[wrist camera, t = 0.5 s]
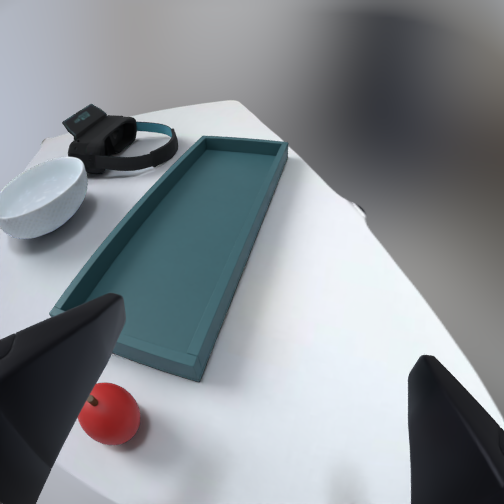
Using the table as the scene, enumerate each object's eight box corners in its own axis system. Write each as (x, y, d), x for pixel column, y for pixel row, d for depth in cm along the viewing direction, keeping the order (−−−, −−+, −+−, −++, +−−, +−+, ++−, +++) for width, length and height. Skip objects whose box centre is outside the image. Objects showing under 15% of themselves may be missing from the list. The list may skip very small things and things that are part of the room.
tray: (199, 382, 24) (193, 367, 22) (61, 331, 27) (48, 313, 25) (287, 157, 54) (288, 142, 52) (203, 149, 57) (202, 135, 55)
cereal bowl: (-6, 241, 39) (-23, 207, 34) (56, 186, 50) (45, 154, 45) (43, 268, 34) (20, 226, 29) (116, 198, 45) (105, 158, 41)
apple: (135, 460, 19) (104, 444, 15) (85, 435, 20) (49, 412, 16) (157, 409, 22) (134, 381, 18) (108, 389, 23) (79, 357, 19)
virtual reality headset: (101, 137, 64) (99, 98, 57) (187, 145, 65) (190, 103, 58) (58, 176, 50) (50, 129, 44) (159, 188, 51) (159, 134, 44)
